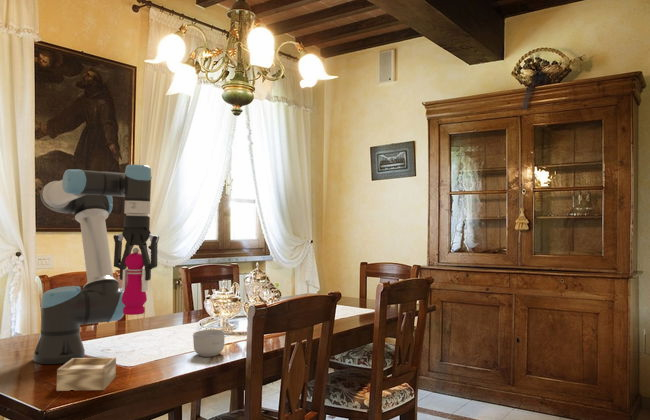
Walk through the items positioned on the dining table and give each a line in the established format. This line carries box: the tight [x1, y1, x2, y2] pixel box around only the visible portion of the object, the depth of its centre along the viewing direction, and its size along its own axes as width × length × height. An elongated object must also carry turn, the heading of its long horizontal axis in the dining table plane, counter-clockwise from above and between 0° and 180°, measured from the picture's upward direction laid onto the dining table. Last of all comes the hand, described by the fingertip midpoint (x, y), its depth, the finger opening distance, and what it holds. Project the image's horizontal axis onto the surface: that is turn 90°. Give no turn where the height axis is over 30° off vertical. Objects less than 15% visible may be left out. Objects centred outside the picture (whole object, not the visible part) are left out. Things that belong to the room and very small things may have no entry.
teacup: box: [192, 328, 225, 358], centre depth 187 cm, size 14×11×8 cm
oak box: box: [56, 357, 117, 392], centre depth 150 cm, size 12×12×6 cm
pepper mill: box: [122, 247, 148, 316], centre depth 163 cm, size 7×7×20 cm
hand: (134, 290), depth 163 cm, fingers closed on pepper mill, 5 cm apart
